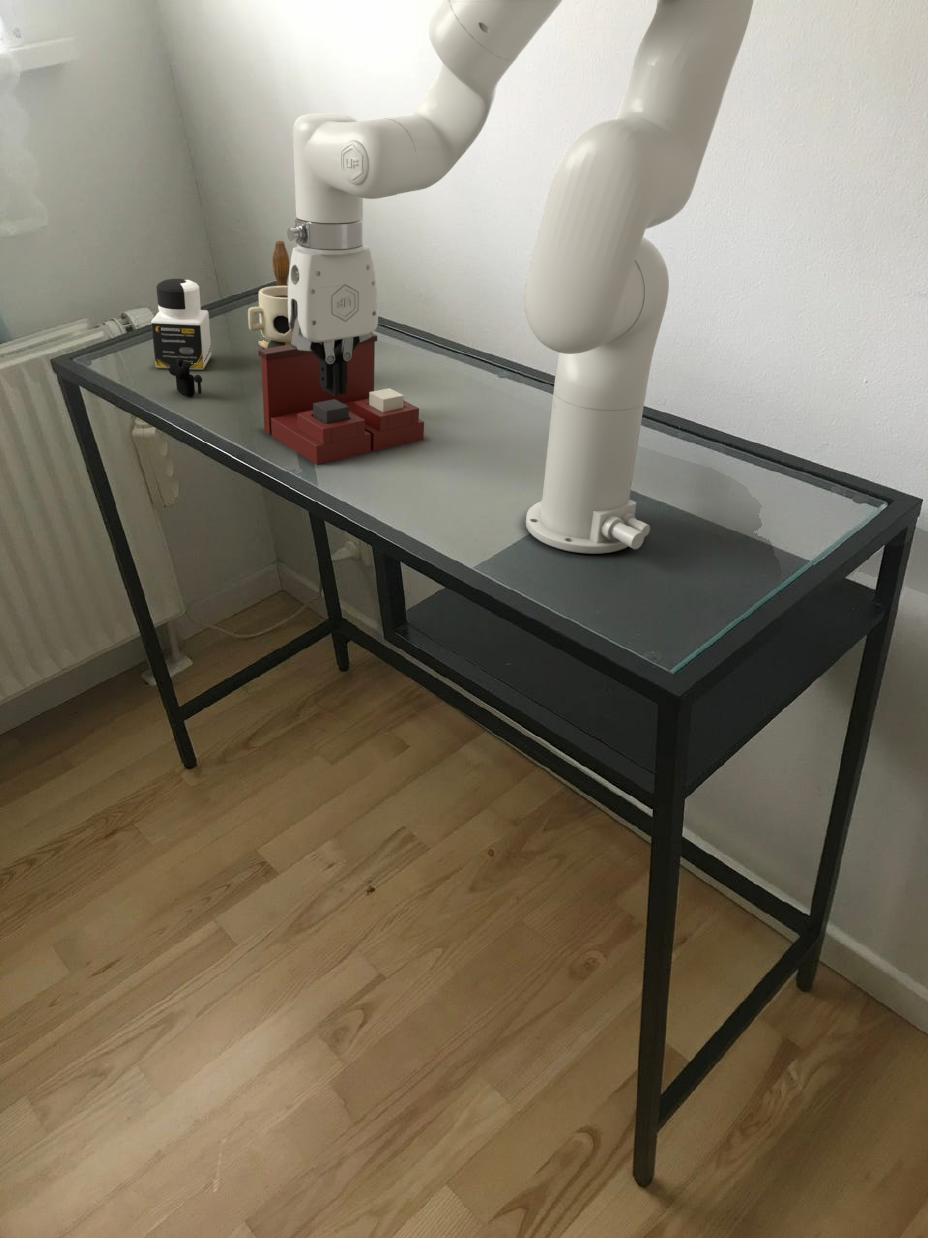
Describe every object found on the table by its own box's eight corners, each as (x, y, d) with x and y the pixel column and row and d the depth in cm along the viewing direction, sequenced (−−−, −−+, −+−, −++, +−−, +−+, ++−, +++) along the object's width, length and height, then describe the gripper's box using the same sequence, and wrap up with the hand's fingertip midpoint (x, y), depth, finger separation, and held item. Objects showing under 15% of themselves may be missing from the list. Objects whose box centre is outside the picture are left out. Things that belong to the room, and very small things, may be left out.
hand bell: (300, 354, 164) (297, 249, 156) (250, 348, 166) (245, 243, 157) (317, 339, 171) (315, 238, 163) (269, 333, 173) (265, 233, 164)
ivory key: (403, 409, 134) (404, 395, 133) (383, 414, 133) (383, 399, 132) (389, 402, 136) (389, 387, 135) (369, 406, 135) (369, 391, 134)
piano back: (376, 412, 144) (377, 335, 139) (269, 435, 135) (265, 353, 129) (368, 408, 146) (369, 331, 140) (261, 430, 136) (257, 349, 131)
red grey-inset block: (371, 452, 132) (371, 418, 130) (317, 465, 128) (316, 430, 125) (324, 424, 139) (323, 392, 137) (271, 436, 135) (270, 402, 133)
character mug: (260, 393, 148) (256, 301, 141) (242, 378, 153) (238, 288, 146) (331, 384, 153) (330, 294, 146) (311, 369, 158) (309, 282, 152)
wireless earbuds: (206, 400, 145) (203, 364, 142) (191, 404, 143) (188, 368, 140) (175, 387, 148) (172, 352, 146) (160, 390, 147) (157, 355, 144)
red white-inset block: (424, 439, 137) (425, 406, 135) (373, 451, 132) (374, 417, 130) (376, 413, 144) (376, 381, 142) (326, 424, 140) (326, 391, 137)
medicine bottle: (155, 368, 155) (146, 286, 148) (165, 353, 161) (157, 274, 154) (203, 370, 155) (197, 288, 149) (211, 356, 161) (206, 276, 155)
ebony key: (348, 421, 130) (348, 406, 129) (327, 426, 128) (326, 411, 127) (334, 413, 132) (334, 398, 131) (313, 418, 130) (312, 403, 129)
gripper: (289, 247, 112) (296, 411, 121) (402, 234, 120) (401, 389, 129) (255, 234, 117) (264, 393, 126) (366, 223, 125) (367, 373, 134)
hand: (333, 391), depth 128 cm, fingers closed
